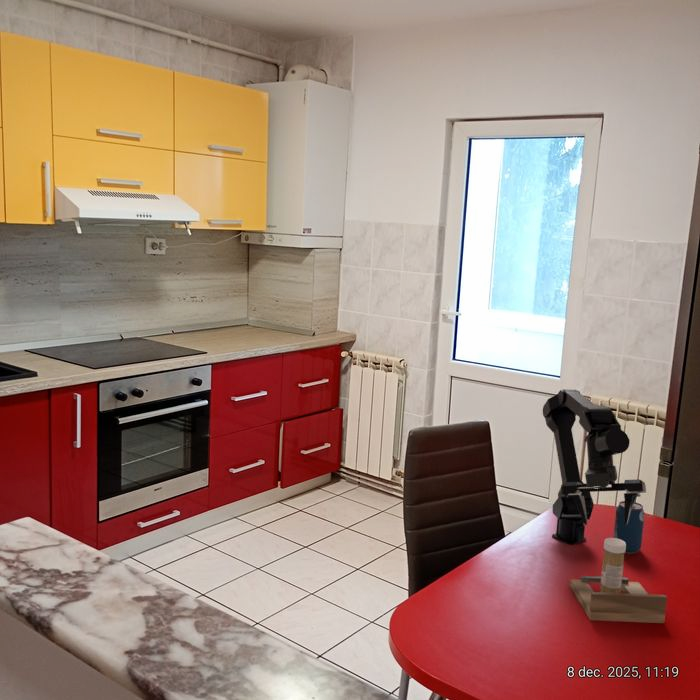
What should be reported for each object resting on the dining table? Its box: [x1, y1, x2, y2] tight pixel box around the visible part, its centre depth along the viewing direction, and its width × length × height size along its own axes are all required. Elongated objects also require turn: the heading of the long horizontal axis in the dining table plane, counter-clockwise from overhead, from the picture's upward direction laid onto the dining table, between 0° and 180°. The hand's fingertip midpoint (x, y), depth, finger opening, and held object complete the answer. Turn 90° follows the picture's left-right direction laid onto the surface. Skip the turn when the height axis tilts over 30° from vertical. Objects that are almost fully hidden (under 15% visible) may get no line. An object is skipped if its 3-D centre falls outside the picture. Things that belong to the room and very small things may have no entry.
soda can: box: [612, 500, 646, 555], centre depth 195 cm, size 7×7×12 cm
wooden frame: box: [569, 575, 668, 624], centre depth 165 cm, size 15×16×6 cm
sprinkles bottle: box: [599, 537, 626, 593], centre depth 168 cm, size 5×5×13 cm
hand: (605, 524), depth 179 cm, fingers open, 9 cm apart
